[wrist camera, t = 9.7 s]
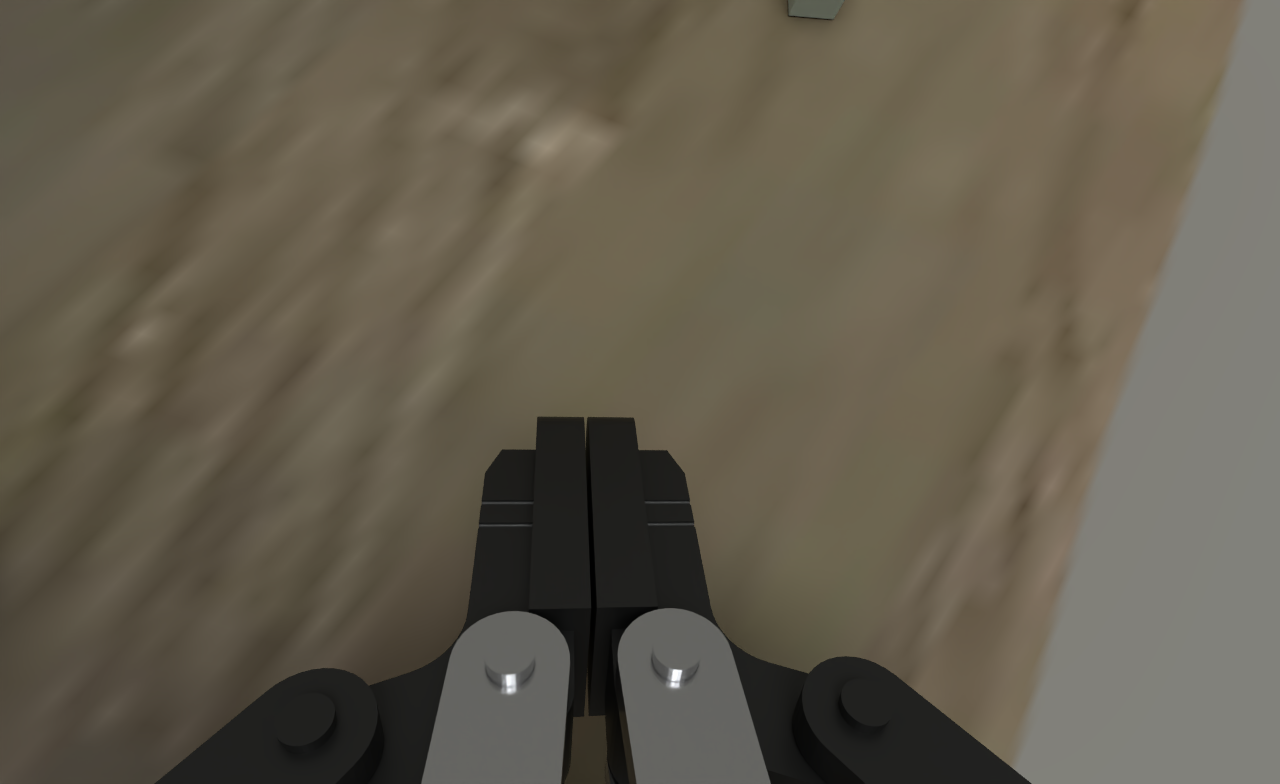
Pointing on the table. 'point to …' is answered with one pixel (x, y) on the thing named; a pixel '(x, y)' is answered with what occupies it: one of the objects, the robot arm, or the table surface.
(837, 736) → the robot arm
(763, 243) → the table surface
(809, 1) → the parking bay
